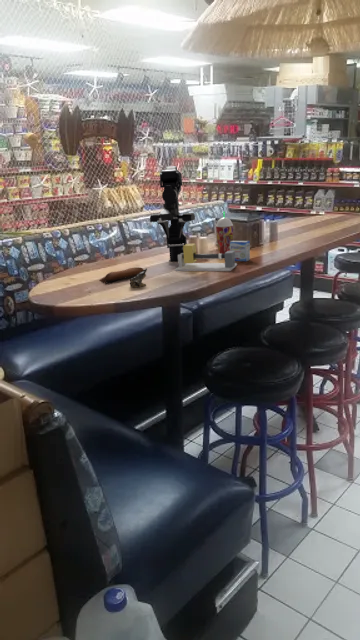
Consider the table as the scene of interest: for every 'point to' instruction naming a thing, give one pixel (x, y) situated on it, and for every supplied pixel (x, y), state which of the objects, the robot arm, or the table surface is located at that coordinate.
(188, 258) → the sleeve
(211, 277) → the table surface
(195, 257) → the cord rig
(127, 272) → the sweet potato
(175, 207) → the robot arm
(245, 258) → the medicine box
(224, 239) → the smoothie
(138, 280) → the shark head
